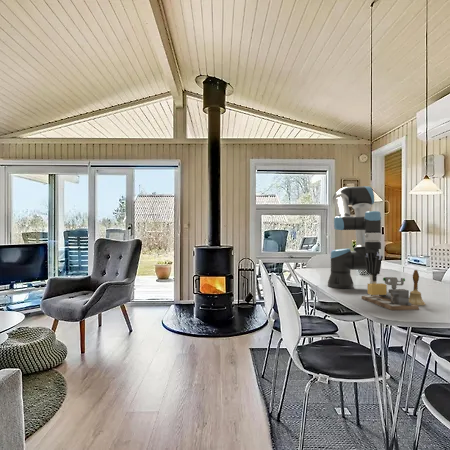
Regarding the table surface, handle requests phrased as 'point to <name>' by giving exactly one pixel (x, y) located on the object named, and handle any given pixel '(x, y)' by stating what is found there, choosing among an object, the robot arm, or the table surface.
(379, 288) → the block
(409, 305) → the board
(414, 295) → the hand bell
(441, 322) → the table surface
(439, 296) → the table surface
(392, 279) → the mechanical component
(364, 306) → the table surface
